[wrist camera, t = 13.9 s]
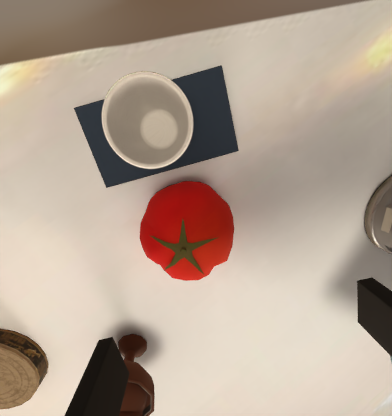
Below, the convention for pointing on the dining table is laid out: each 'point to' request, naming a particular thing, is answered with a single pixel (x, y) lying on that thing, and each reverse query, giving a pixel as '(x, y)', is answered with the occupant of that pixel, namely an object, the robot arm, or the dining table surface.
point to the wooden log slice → (19, 368)
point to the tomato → (187, 230)
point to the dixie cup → (147, 120)
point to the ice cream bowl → (136, 379)
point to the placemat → (201, 137)
